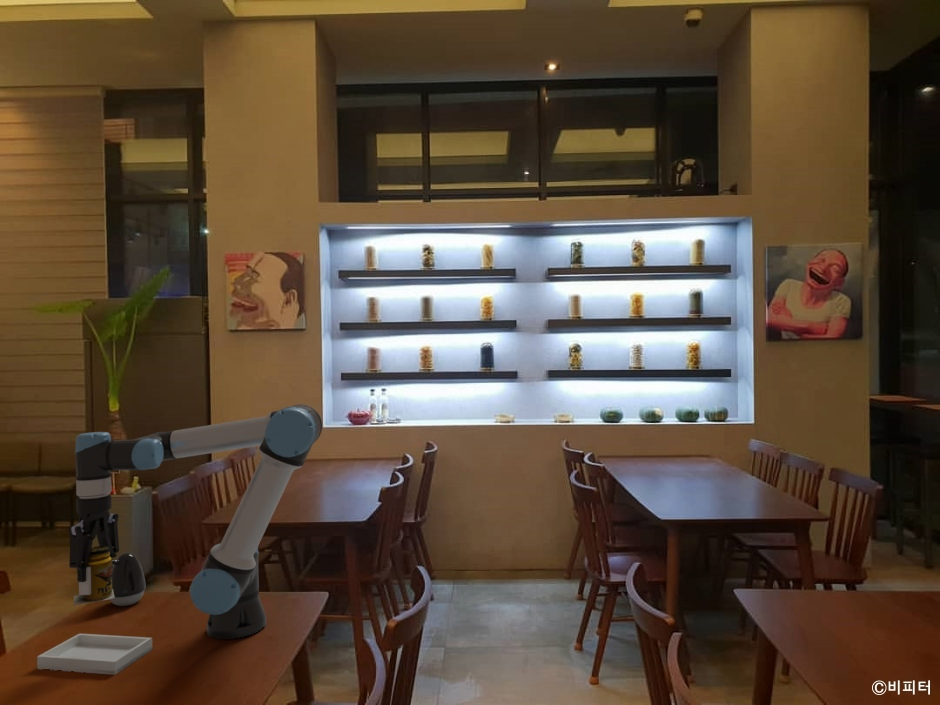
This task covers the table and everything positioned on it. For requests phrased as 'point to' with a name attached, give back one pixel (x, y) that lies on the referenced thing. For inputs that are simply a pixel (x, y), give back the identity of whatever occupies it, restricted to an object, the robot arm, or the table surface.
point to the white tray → (95, 653)
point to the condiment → (98, 577)
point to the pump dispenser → (127, 580)
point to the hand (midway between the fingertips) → (95, 589)
